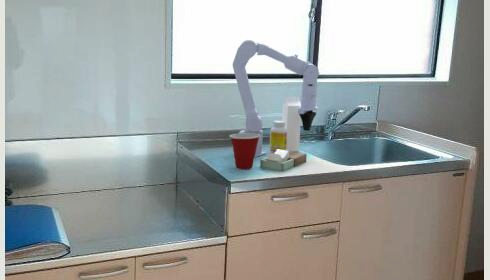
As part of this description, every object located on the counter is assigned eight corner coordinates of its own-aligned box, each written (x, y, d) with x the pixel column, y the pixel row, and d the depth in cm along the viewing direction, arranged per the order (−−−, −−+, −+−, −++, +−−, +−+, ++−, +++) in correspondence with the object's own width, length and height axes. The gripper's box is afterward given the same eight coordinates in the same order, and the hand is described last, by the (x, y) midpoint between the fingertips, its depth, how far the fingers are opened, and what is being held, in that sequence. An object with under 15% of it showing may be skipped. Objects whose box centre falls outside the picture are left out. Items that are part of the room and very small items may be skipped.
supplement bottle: (286, 155, 212) (288, 123, 210) (269, 154, 212) (271, 122, 210) (285, 151, 219) (287, 120, 216) (269, 151, 219) (270, 119, 216)
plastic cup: (238, 162, 197) (239, 130, 195) (264, 167, 192) (265, 134, 190) (222, 167, 188) (223, 134, 186) (248, 173, 183) (250, 138, 180)
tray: (259, 167, 191) (260, 159, 191) (271, 162, 199) (271, 155, 198) (282, 171, 187) (283, 163, 186) (293, 166, 195) (294, 158, 194)
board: (270, 162, 199) (270, 154, 199) (282, 157, 208) (282, 150, 207) (294, 166, 194) (295, 158, 194) (306, 161, 203) (306, 153, 202)
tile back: (273, 161, 195) (272, 156, 193) (278, 154, 198) (277, 149, 196) (284, 163, 193) (283, 158, 191) (289, 156, 196) (288, 150, 194)
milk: (298, 151, 220) (302, 98, 216) (284, 152, 218) (288, 97, 214) (293, 148, 226) (297, 96, 221) (279, 148, 224) (283, 95, 220)
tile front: (272, 159, 194) (270, 165, 193) (268, 152, 191) (266, 158, 190) (283, 161, 192) (281, 167, 191) (280, 154, 189) (277, 160, 188)
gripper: (311, 98, 199) (308, 134, 202) (325, 95, 211) (323, 129, 214) (293, 96, 202) (291, 131, 205) (309, 93, 215) (306, 127, 217)
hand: (306, 130), depth 210 cm, fingers closed
